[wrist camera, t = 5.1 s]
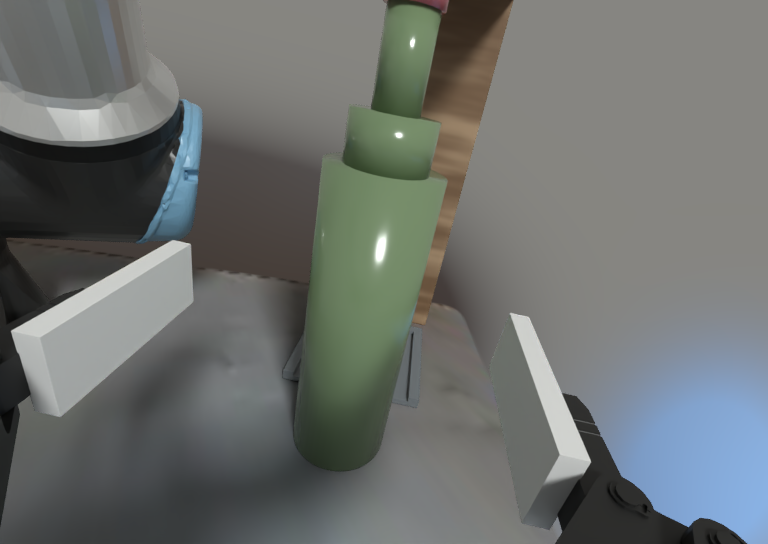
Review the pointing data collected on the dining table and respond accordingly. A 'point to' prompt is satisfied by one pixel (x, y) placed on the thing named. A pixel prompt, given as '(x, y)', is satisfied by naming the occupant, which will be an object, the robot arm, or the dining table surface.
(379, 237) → the wine bottle
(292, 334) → the dining table surface
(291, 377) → the seat pad
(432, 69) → the shelf
